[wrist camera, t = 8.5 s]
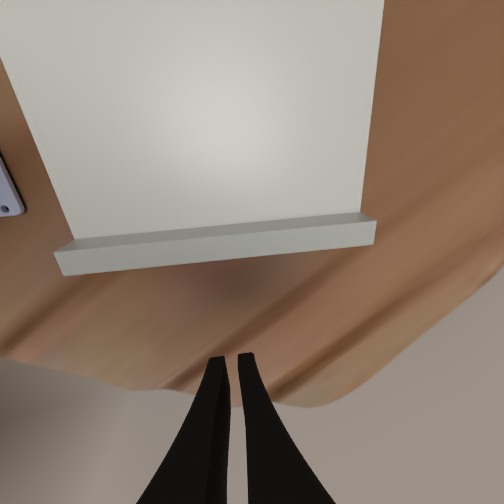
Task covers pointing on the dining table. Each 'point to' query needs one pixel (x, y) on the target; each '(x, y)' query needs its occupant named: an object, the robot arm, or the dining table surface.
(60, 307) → the dining table surface
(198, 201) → the lid
